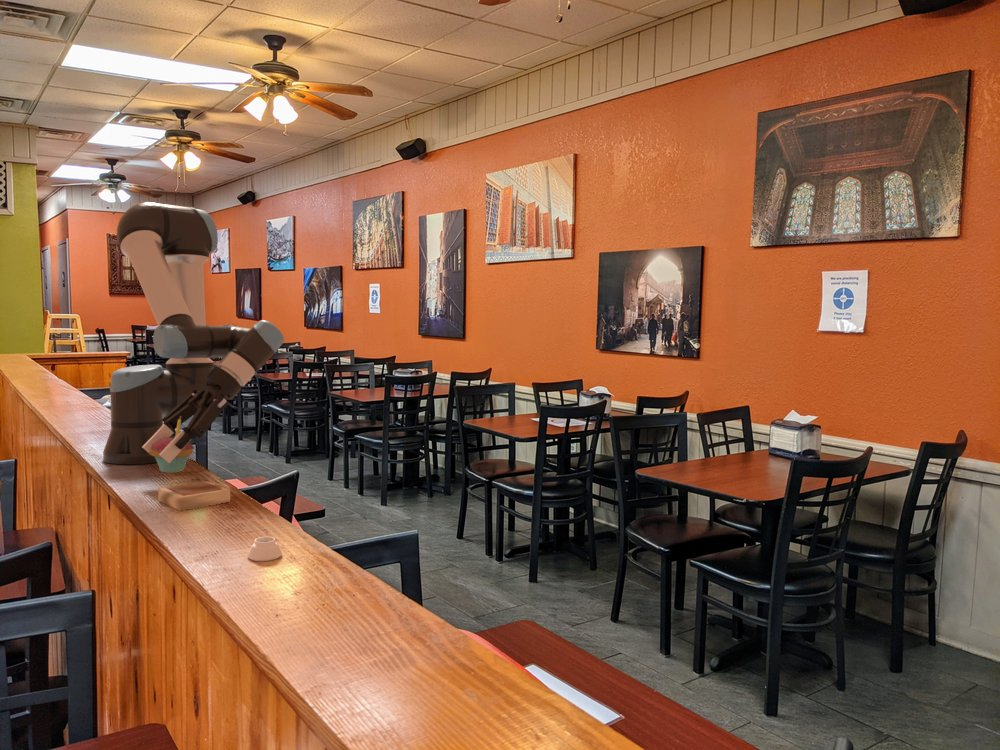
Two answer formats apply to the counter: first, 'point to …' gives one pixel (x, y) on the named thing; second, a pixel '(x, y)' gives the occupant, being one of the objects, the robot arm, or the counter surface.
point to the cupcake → (178, 461)
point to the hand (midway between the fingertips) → (155, 454)
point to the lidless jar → (264, 549)
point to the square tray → (193, 495)
